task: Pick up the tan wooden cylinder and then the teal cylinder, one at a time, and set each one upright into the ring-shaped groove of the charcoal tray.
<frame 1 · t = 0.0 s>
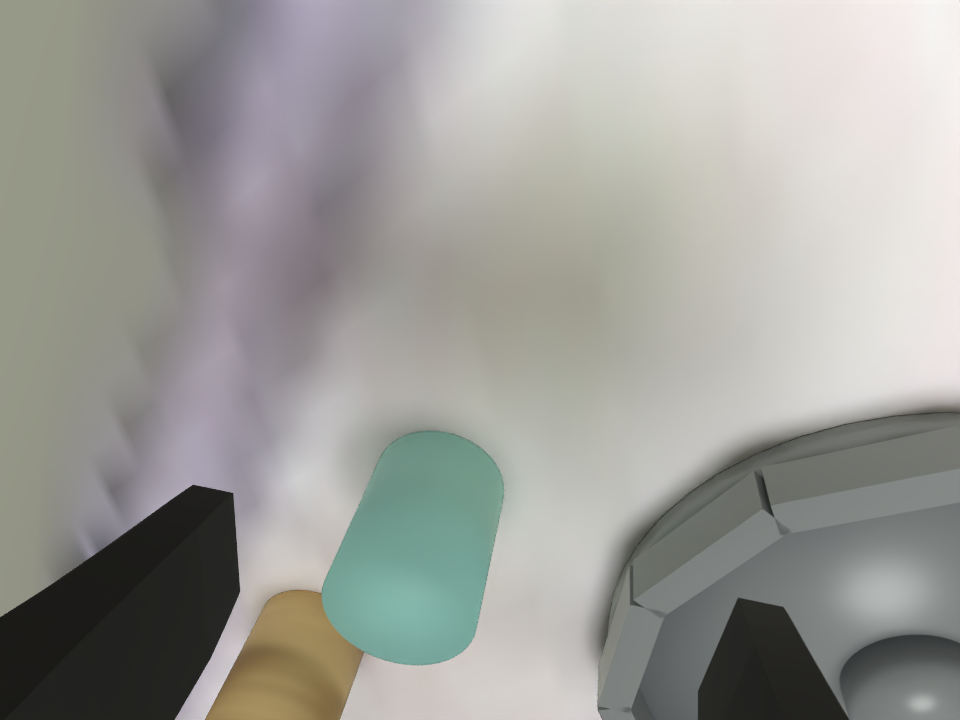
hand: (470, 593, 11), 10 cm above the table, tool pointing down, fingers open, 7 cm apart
teal cylinder: (439, 484, 23), on the table
tan wooden cylinder: (314, 629, 28), on the table
ring tray: (901, 653, 24), on the table
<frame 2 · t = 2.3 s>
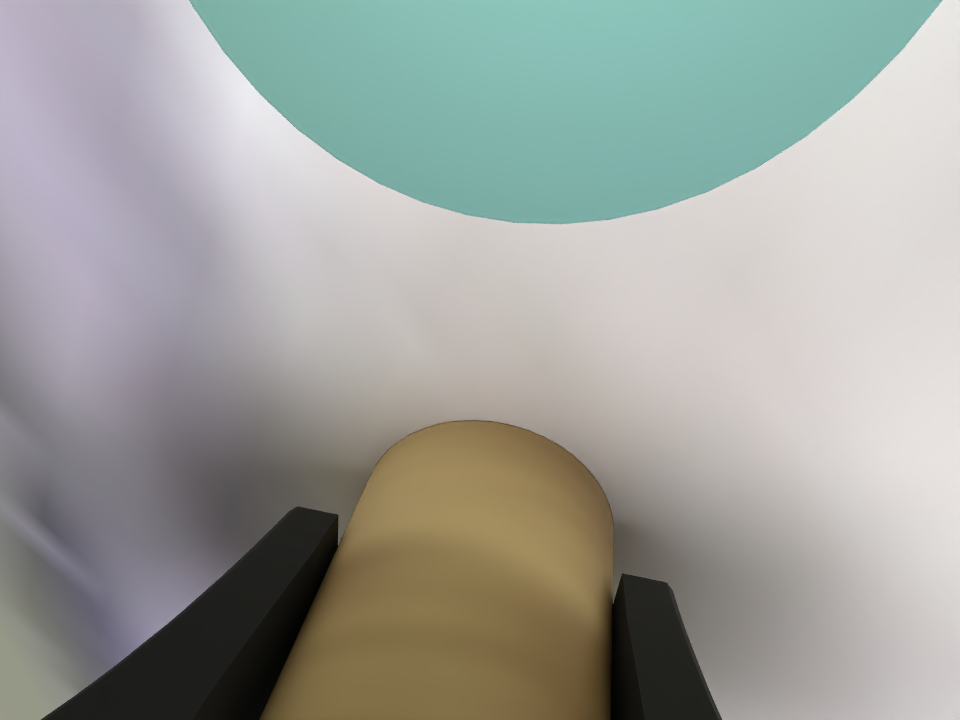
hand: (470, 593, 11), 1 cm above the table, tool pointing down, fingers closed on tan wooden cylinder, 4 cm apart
tan wooden cylinder: (486, 524, 12), on the table, touching gripper
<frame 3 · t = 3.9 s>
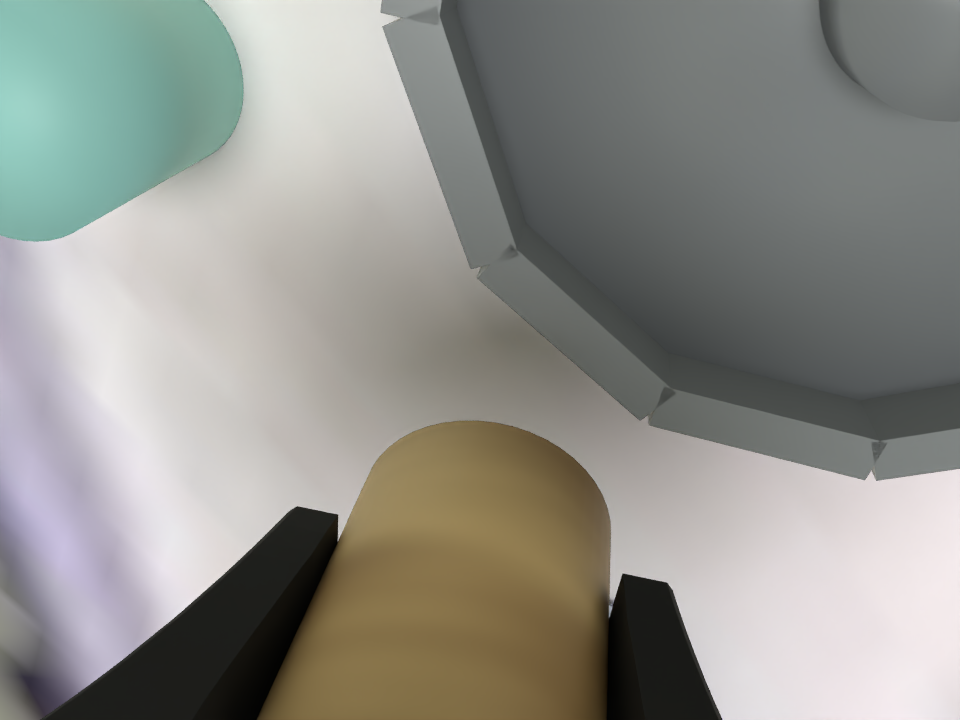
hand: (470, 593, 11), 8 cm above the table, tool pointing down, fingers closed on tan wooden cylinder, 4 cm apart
teal cylinder: (155, 71, 16), on the table
tan wooden cylinder: (483, 524, 12), point 7 cm above the table, touching gripper
when the fingers open (4 cm above the table, at t = 5.7 s): tan wooden cylinder drops 1 cm, resting on ring tray.
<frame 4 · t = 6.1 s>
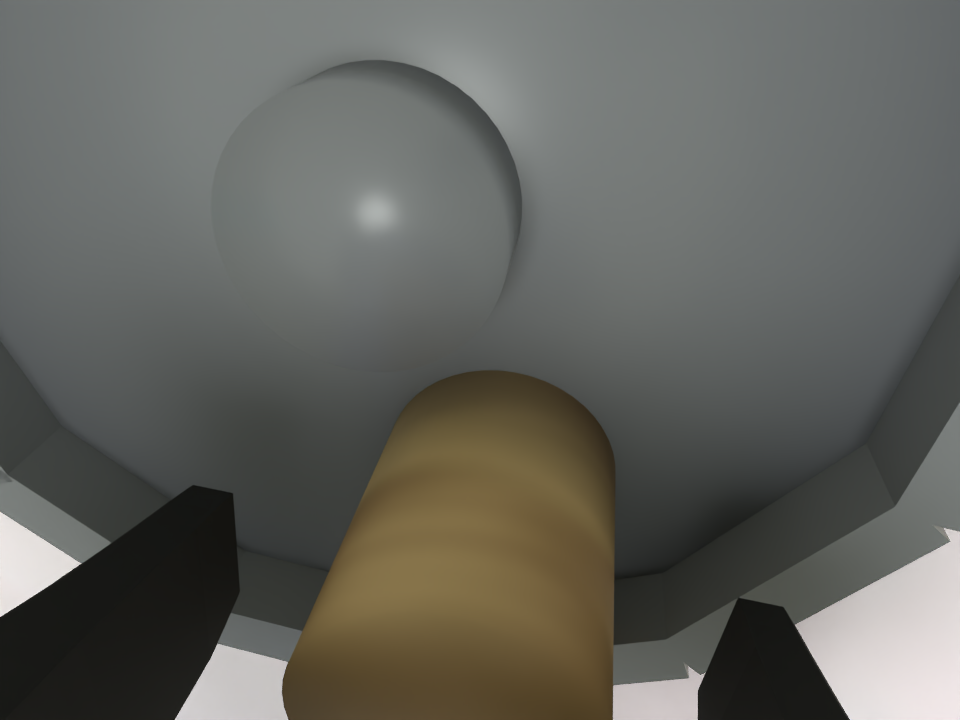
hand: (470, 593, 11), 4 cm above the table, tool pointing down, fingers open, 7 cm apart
tan wooden cylinder: (500, 467, 13), point 1 cm above the table, touching ring tray
ring tray: (404, 183, 12), on the table
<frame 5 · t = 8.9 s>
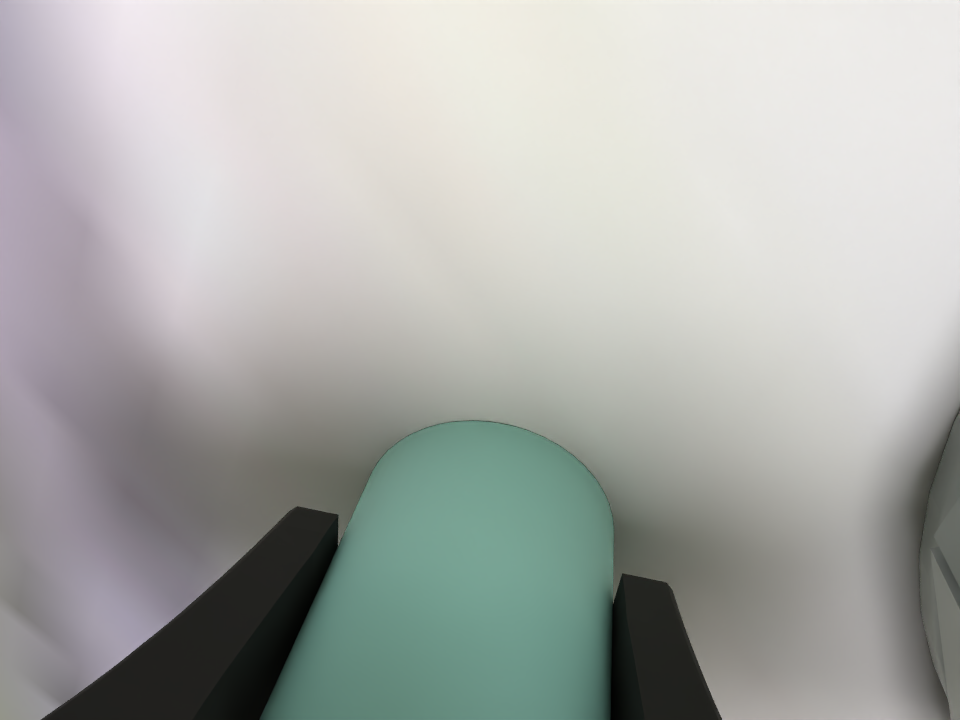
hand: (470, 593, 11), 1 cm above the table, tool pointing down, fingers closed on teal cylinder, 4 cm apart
teal cylinder: (486, 524, 12), on the table, touching gripper
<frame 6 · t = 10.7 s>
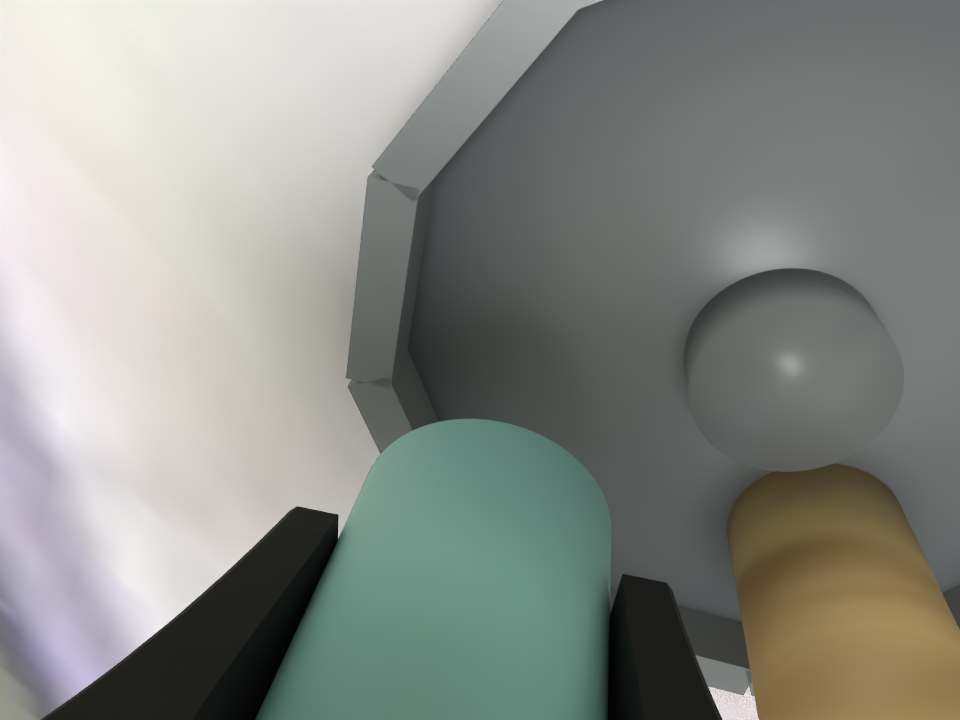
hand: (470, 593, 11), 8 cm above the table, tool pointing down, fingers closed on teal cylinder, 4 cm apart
teal cylinder: (484, 522, 12), point 7 cm above the table, touching gripper
tan wooden cylinder: (812, 528, 18), point 1 cm above the table, touching ring tray
ring tray: (772, 332, 17), on the table
when the fingers open (4 cm above the table, at t = 12.6 s): teal cylinder drops 1 cm, resting on ring tray.
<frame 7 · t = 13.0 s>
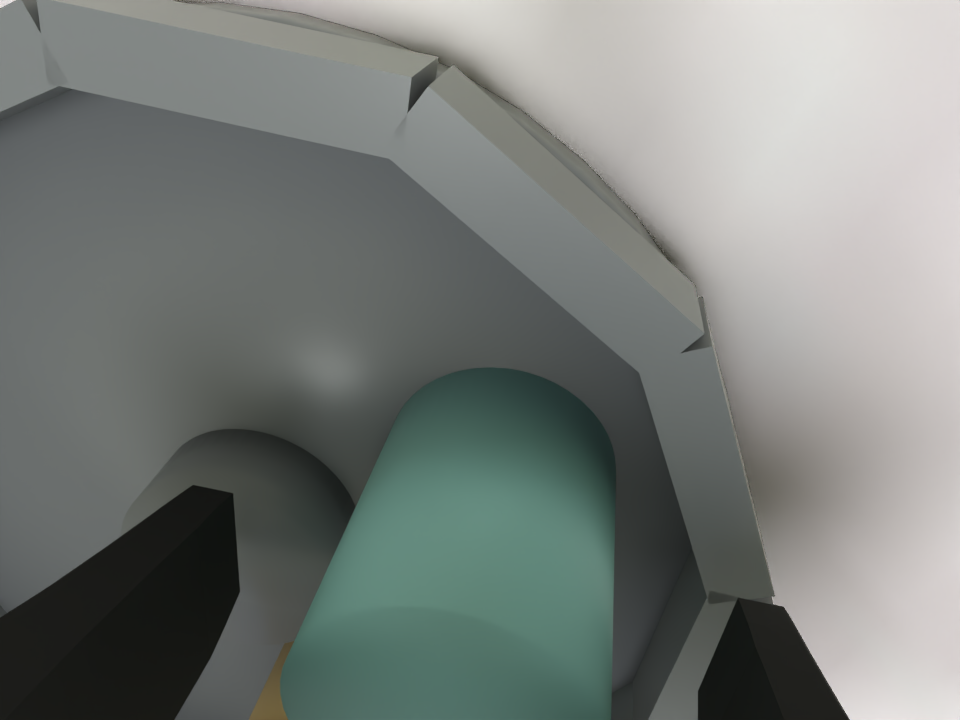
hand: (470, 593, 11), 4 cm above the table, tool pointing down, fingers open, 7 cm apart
teal cylinder: (500, 465, 13), point 1 cm above the table, touching ring tray
tan wooden cylinder: (365, 680, 17), point 1 cm above the table, touching ring tray
ring tray: (281, 480, 16), on the table
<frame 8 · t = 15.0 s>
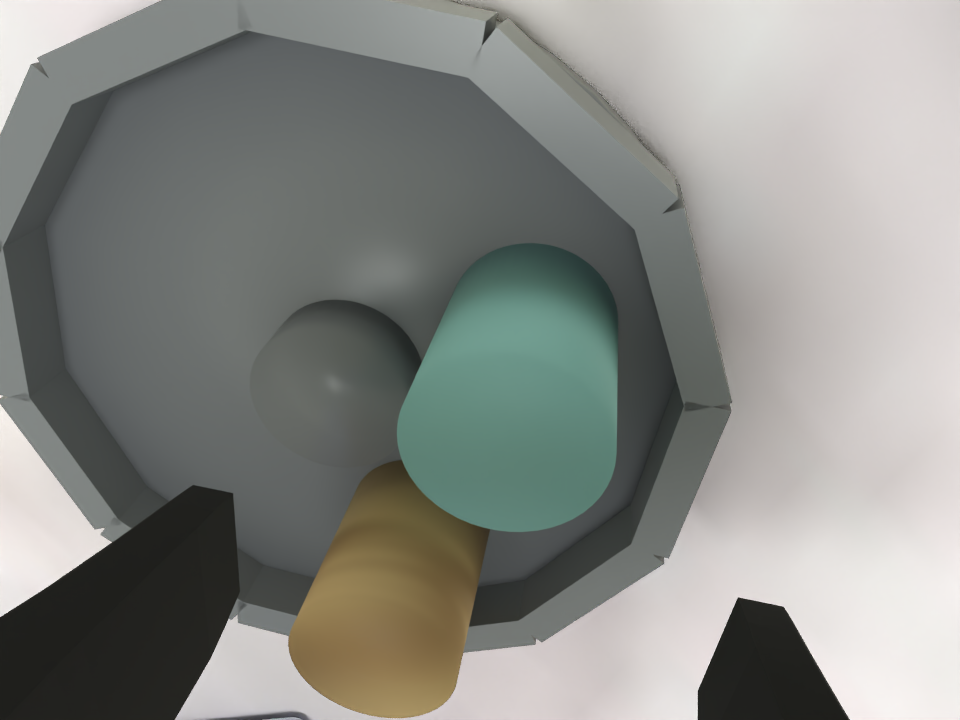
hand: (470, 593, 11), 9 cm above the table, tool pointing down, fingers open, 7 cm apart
teal cylinder: (532, 322, 18), point 1 cm above the table, touching ring tray
tan wooden cylinder: (421, 515, 22), point 1 cm above the table, touching ring tray
ring tray: (359, 350, 20), on the table
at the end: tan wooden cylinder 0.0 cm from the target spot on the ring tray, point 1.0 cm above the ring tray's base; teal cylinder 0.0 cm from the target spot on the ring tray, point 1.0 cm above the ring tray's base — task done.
